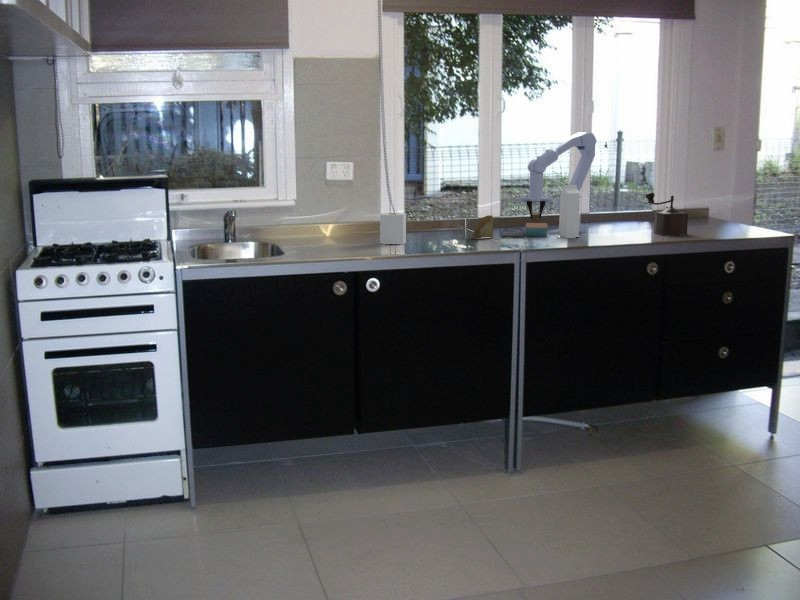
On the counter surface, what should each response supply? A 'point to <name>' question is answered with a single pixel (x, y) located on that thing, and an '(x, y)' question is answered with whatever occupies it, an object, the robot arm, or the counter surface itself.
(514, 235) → the pad
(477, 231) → the rock
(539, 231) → the tile
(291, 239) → the counter surface
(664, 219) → the manual coffee grinder
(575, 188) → the milk
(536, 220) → the two-tone stacked blocks
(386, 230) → the light grey block
